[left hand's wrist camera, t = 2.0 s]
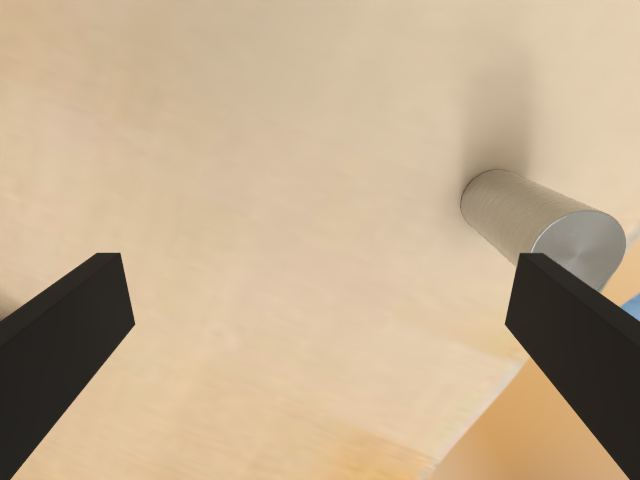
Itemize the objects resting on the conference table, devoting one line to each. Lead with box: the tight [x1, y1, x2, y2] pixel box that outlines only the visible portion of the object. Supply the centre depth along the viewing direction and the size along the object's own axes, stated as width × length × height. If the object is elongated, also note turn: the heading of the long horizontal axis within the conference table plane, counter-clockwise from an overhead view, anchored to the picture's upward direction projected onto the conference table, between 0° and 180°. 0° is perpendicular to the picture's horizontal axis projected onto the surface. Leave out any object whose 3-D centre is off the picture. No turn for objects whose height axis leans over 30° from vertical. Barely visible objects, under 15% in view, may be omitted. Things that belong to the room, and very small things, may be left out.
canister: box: [461, 170, 626, 289], centre depth 27 cm, size 6×6×12 cm
